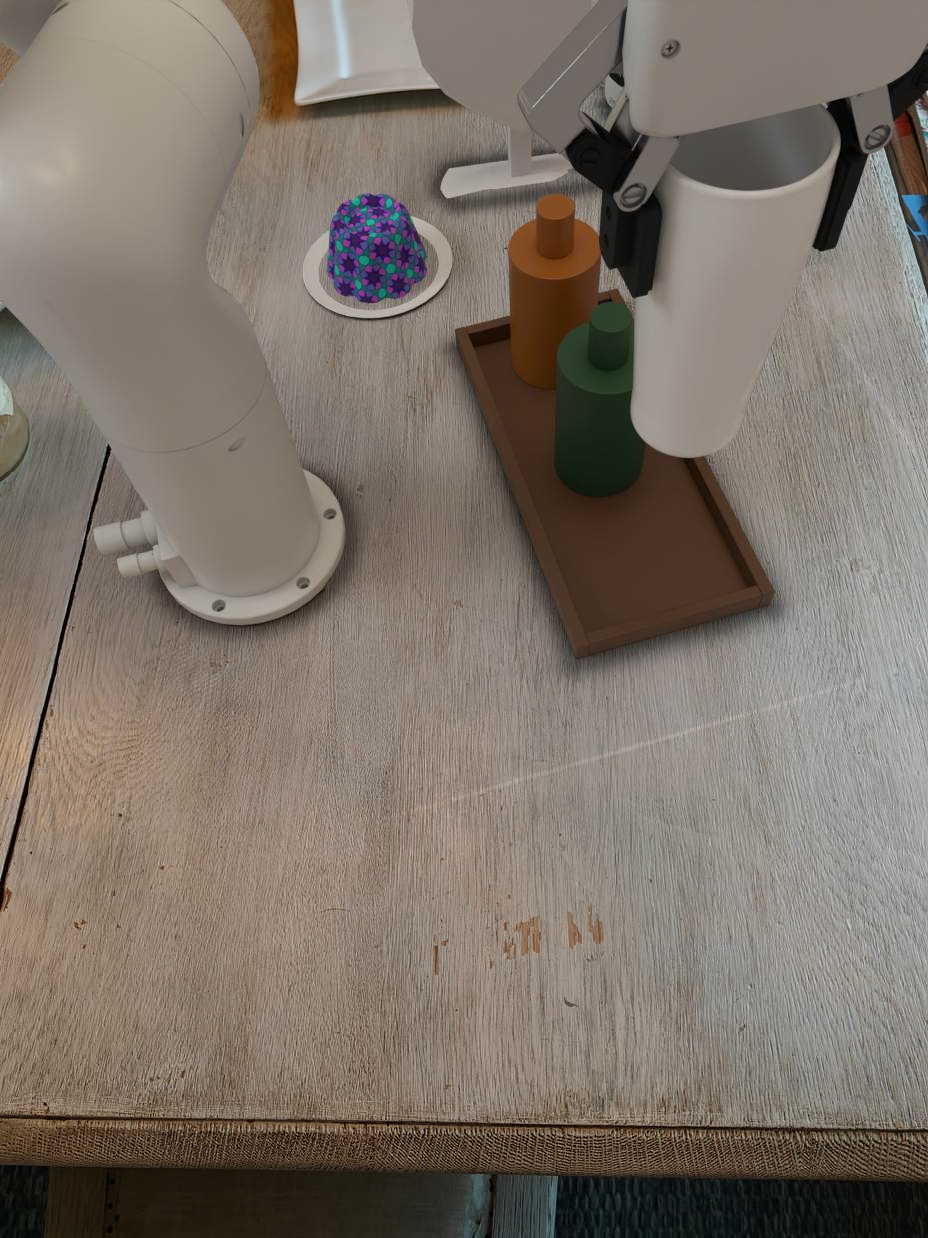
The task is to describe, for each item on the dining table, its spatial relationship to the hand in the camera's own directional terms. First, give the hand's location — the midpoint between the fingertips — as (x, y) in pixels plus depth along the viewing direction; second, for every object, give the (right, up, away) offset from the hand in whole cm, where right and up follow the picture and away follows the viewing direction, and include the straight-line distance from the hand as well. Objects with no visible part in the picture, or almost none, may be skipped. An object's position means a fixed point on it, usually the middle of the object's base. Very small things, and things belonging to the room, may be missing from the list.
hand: (719, 247), depth 37 cm
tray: (-1, -4, +28) cm, 29 cm away
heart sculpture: (-5, +23, +44) cm, 50 cm away
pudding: (-17, +13, +39) cm, 45 cm away
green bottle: (-1, -4, +28) cm, 28 cm away
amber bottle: (-4, +5, +33) cm, 33 cm away
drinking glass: (+1, -5, +9) cm, 10 cm away
